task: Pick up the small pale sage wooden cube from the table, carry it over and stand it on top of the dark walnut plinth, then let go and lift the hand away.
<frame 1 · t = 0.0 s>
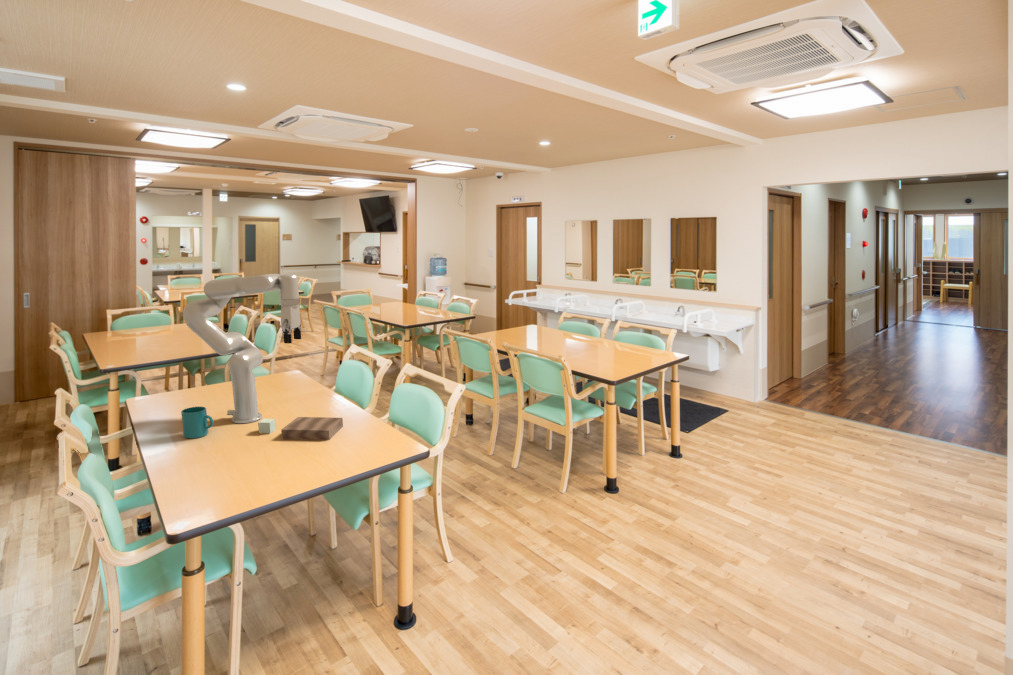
hand: (292, 341, 237), 37 cm above the table, tool pointing down, fingers open, 9 cm apart
walnut plinth: (313, 432, 228), on the table
cup: (200, 435, 224), on the table
sage cube: (267, 431, 229), on the table
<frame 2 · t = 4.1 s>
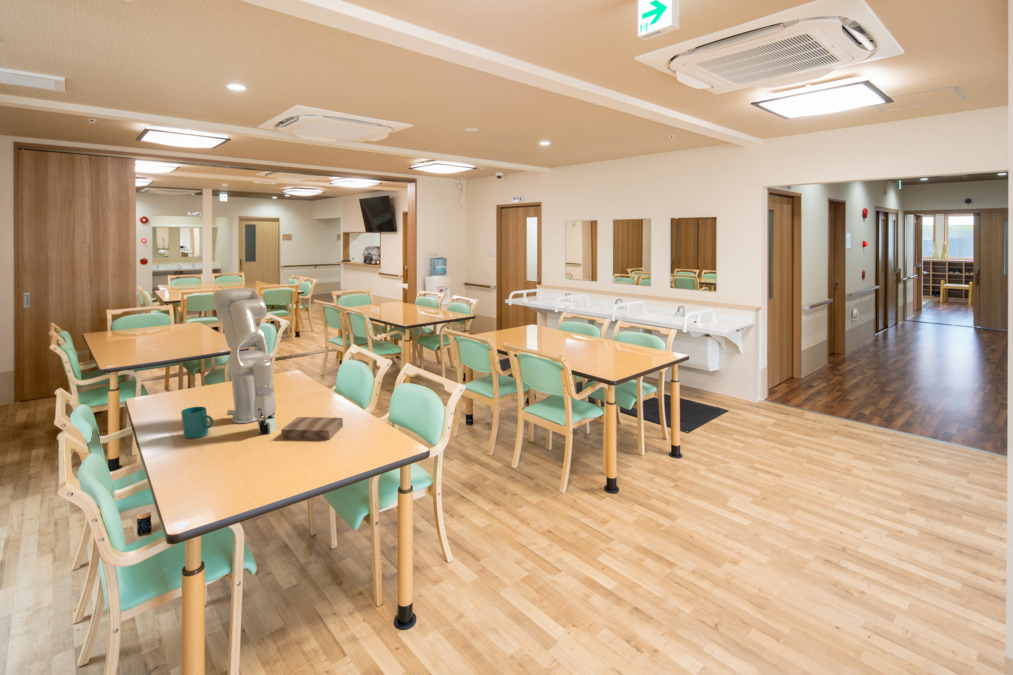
hand: (267, 430, 229), 0 cm above the table, tool pointing down, fingers closed on sage cube, 5 cm apart
sage cube: (267, 431, 229), on the table, touching gripper
everything else where it was.
when the fingers open (6 cm above the table, at t = 10.6 s): sage cube drops 1 cm, resting on walnut plinth.
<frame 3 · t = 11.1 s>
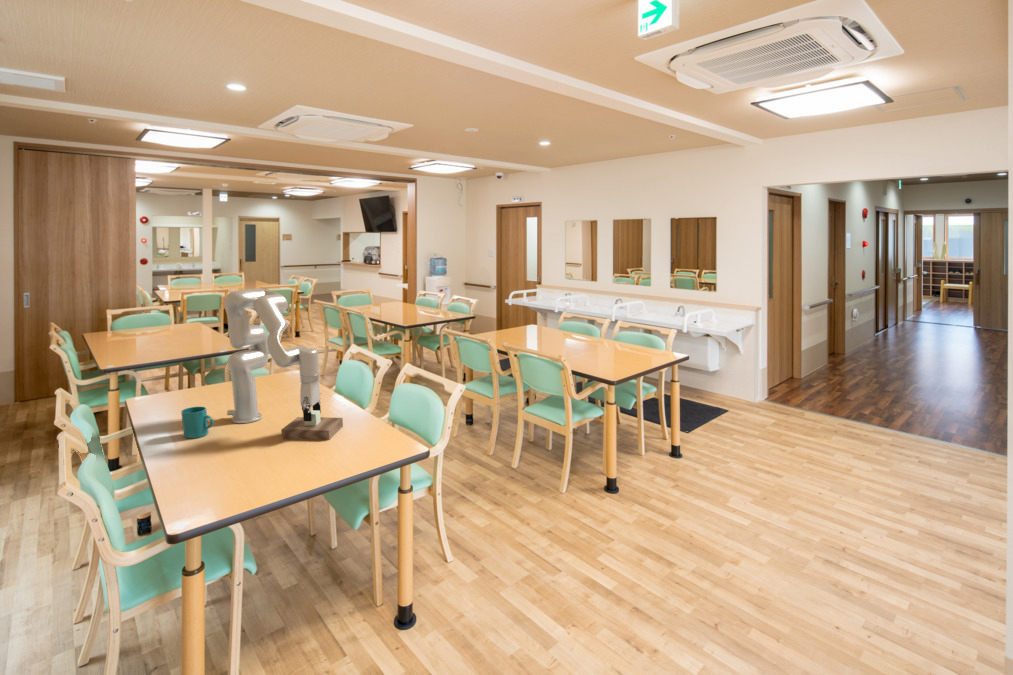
hand: (312, 417, 227), 7 cm above the table, tool pointing down, fingers open, 9 cm apart
sage cube: (312, 423, 227), point 4 cm above the table, touching walnut plinth
everything else where it was.
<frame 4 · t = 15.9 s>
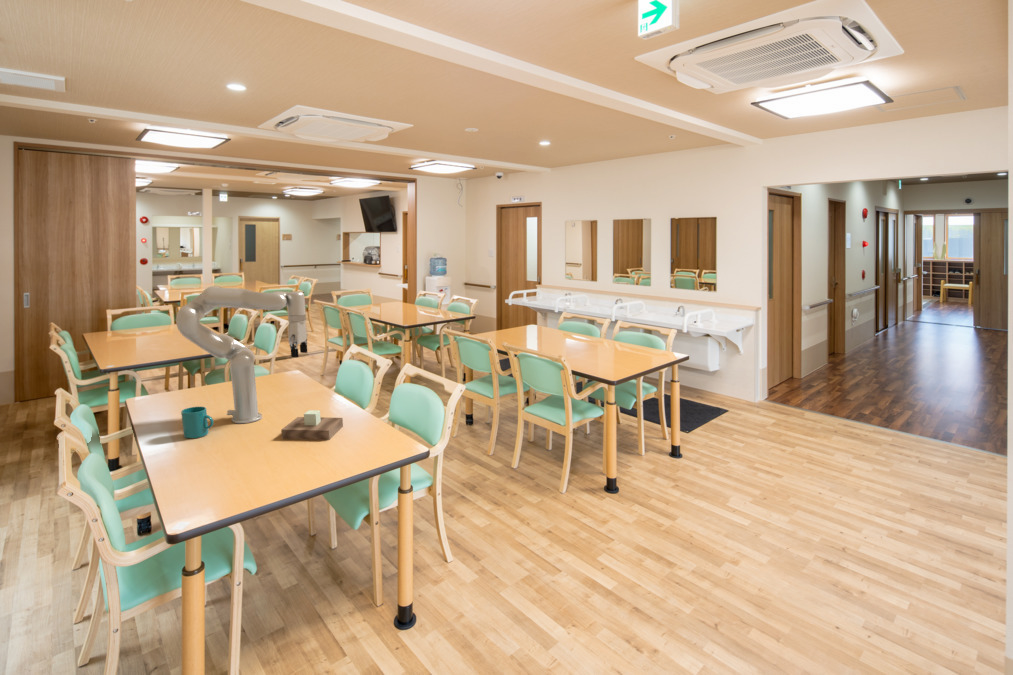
hand: (299, 354, 248), 28 cm above the table, tool pointing down, fingers open, 9 cm apart
nothing on the table moved.
at the end: sage cube inside the target area on the walnut plinth (0.1 cm from its centre), point 4.0 cm above the walnut plinth's base; sage cube tilted 0°; the gripper is holding nothing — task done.
